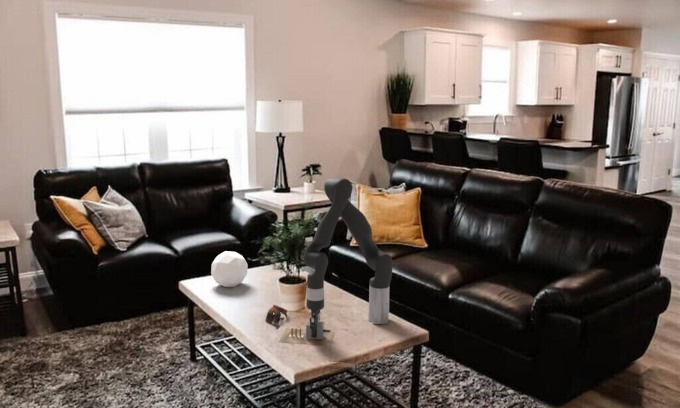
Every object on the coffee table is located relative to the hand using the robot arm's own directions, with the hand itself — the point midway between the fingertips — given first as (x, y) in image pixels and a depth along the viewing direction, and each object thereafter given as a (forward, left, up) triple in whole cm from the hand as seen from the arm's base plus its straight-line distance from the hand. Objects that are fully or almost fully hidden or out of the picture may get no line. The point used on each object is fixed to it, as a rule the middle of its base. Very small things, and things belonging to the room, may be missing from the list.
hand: (315, 334), depth 246 cm
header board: (+3, 0, -3) cm, 5 cm away
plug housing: (-2, 0, -1) cm, 2 cm away
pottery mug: (+21, -18, -3) cm, 28 cm away
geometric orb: (+57, -61, -3) cm, 84 cm away
